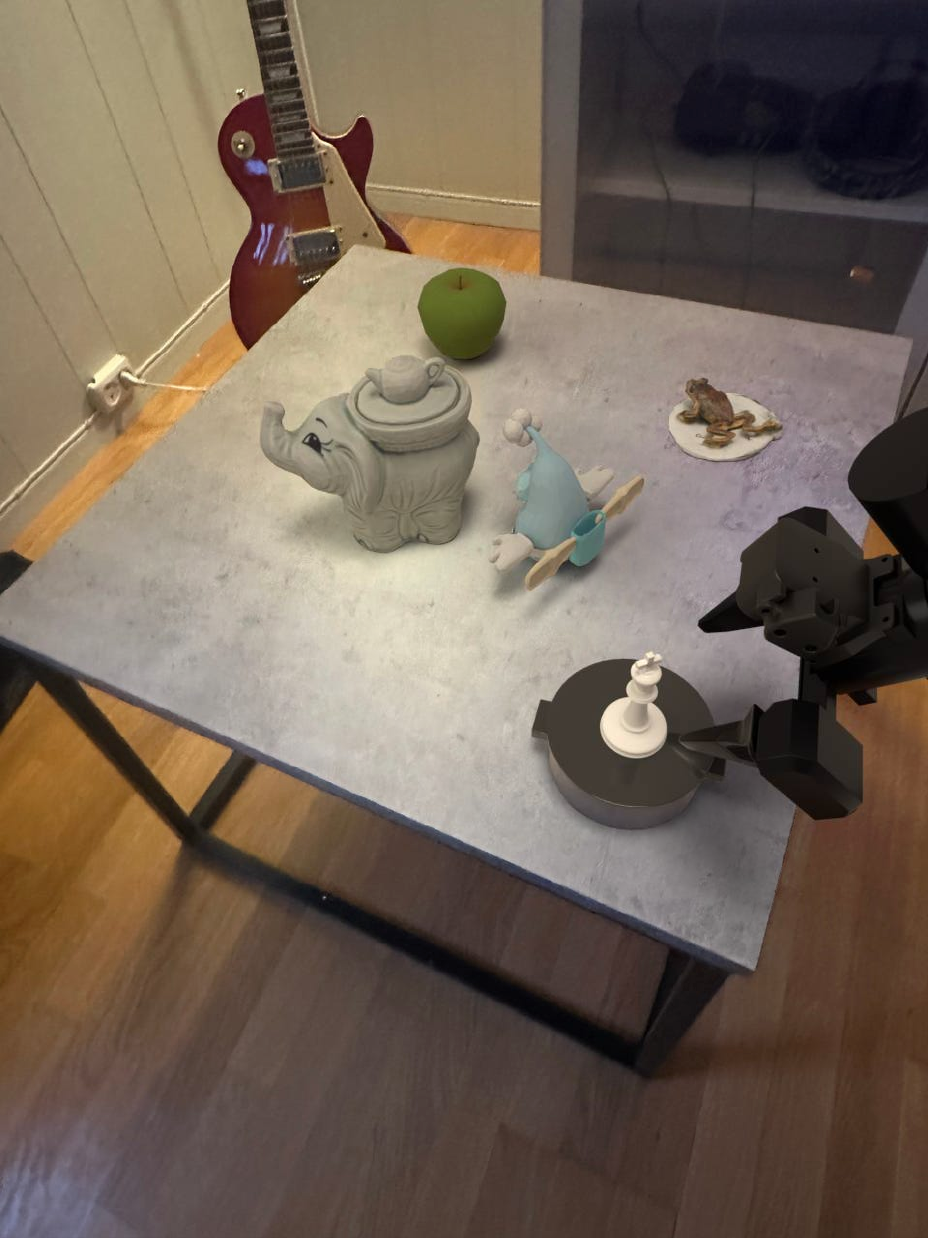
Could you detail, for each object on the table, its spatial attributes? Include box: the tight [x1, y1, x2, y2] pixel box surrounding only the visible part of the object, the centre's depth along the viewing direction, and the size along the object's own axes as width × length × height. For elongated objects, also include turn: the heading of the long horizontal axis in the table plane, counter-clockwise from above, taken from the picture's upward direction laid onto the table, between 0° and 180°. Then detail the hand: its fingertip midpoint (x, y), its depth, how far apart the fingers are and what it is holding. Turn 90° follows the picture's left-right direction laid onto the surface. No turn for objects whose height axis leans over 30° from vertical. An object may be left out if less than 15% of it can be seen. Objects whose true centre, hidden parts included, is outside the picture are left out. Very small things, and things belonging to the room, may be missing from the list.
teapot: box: [259, 354, 481, 553], centre depth 71 cm, size 16×15×19 cm
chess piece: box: [600, 651, 667, 758], centre depth 53 cm, size 5×5×10 cm
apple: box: [416, 267, 507, 360], centre depth 92 cm, size 11×10×10 cm
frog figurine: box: [667, 377, 784, 462], centre depth 82 cm, size 12×12×4 cm
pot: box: [530, 658, 727, 830], centre depth 59 cm, size 15×13×5 cm
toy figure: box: [488, 408, 645, 591], centre depth 69 cm, size 17×10×15 cm, turn 136°
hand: (692, 682), depth 50 cm, fingers open, 9 cm apart
